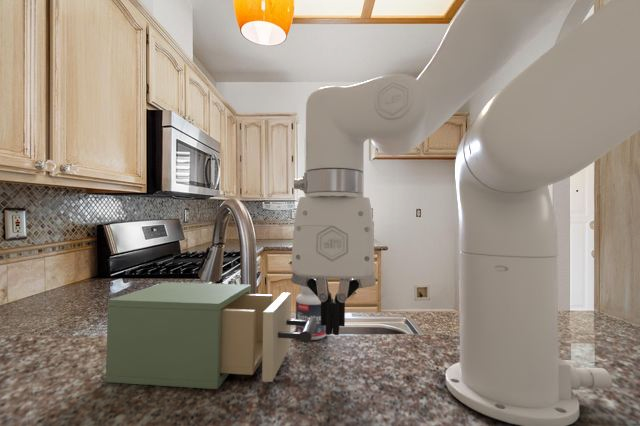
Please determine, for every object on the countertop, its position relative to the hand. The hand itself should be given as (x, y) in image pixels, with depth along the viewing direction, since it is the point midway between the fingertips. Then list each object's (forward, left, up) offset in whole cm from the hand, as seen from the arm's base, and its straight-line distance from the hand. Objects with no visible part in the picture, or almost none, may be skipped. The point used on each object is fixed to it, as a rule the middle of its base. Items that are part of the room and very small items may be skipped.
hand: (332, 331), depth 41 cm
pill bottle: (+4, -13, -5) cm, 15 cm away
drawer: (+11, 0, -4) cm, 12 cm away
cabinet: (+19, 0, -5) cm, 20 cm away
